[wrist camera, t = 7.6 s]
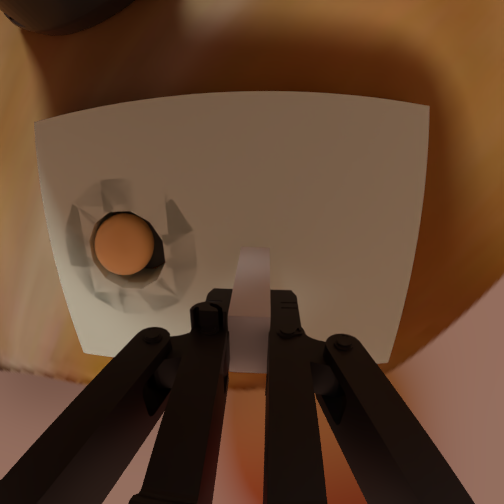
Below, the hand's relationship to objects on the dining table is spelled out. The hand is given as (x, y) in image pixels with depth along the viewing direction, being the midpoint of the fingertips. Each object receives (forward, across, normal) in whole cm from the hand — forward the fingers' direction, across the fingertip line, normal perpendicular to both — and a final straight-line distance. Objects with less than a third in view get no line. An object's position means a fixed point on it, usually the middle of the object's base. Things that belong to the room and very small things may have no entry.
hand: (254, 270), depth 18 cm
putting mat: (+4, -2, 0) cm, 5 cm away
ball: (+2, -8, 0) cm, 9 cm away
